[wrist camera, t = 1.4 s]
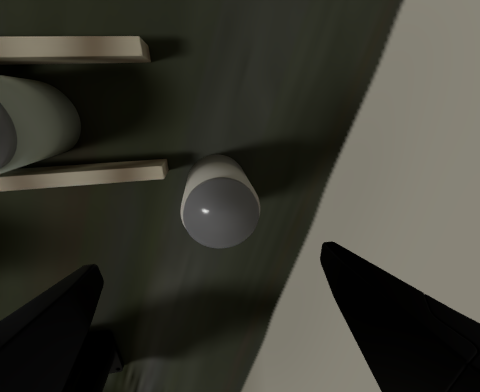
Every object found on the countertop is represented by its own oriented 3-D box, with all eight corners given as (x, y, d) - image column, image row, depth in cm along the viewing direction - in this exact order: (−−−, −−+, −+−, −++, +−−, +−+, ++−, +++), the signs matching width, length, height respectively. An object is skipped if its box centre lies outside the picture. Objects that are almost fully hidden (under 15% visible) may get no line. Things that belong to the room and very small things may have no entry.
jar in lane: (89, 152, 18) (29, 176, 12) (17, 156, 17) (-87, 185, 11) (68, 78, 16) (-18, 61, 10) (-16, 80, 15) (-163, 63, 9)
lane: (148, 45, 16) (136, 33, 13) (168, 170, 19) (162, 181, 16) (-182, 48, 13) (-282, 33, 11) (-91, 189, 17) (-150, 205, 14)
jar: (246, 206, 21) (262, 246, 15) (191, 211, 21) (185, 255, 15) (244, 152, 19) (262, 173, 13) (183, 156, 19) (173, 180, 13)
